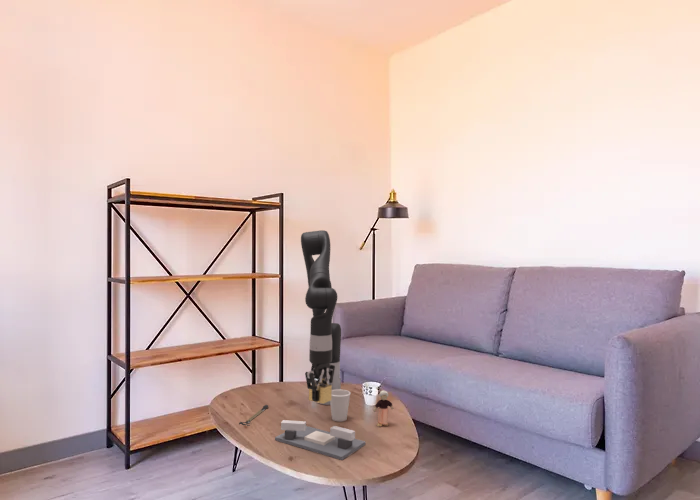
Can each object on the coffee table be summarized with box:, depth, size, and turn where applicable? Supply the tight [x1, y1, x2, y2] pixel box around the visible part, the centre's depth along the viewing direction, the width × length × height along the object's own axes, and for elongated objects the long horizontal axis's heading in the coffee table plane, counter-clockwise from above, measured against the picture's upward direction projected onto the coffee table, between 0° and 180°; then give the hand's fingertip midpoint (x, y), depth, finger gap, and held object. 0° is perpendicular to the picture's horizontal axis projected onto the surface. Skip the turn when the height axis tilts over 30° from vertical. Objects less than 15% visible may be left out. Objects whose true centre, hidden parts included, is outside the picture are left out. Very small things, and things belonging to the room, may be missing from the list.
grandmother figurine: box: [372, 390, 394, 427], centre depth 173 cm, size 8×4×13 cm, turn 118°
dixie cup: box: [329, 388, 351, 422], centre depth 179 cm, size 8×8×10 cm
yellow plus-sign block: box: [308, 383, 332, 405], centre depth 156 cm, size 6×4×5 cm
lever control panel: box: [274, 419, 366, 461], centre depth 156 cm, size 27×14×6 cm, turn 57°
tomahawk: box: [238, 404, 269, 427], centre depth 181 cm, size 21×7×1 cm, turn 164°
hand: (320, 398), depth 156 cm, fingers closed on yellow plus-sign block, 4 cm apart
